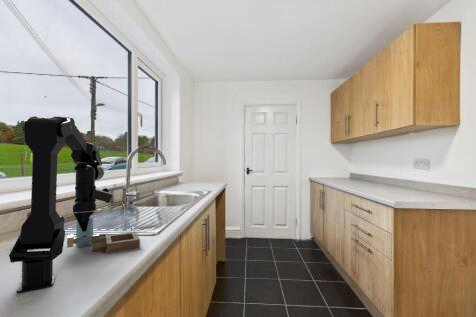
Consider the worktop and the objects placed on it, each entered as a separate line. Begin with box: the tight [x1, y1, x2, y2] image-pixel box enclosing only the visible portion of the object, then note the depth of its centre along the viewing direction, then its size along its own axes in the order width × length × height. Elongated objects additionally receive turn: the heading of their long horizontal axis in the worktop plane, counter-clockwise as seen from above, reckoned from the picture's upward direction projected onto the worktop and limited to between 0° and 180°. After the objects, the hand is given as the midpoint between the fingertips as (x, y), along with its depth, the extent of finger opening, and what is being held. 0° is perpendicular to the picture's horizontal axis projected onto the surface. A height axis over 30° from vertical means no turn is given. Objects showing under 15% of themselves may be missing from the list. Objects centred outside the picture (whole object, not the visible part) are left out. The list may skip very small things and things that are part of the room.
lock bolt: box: [66, 233, 100, 248], centre depth 79 cm, size 3×8×3 cm, turn 120°
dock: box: [91, 231, 141, 255], centre depth 84 cm, size 10×14×4 cm
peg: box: [75, 216, 94, 248], centre depth 86 cm, size 5×5×9 cm
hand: (84, 227), depth 86 cm, fingers open, 9 cm apart
